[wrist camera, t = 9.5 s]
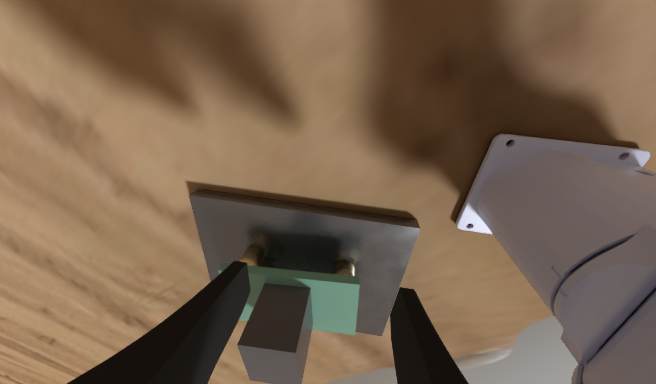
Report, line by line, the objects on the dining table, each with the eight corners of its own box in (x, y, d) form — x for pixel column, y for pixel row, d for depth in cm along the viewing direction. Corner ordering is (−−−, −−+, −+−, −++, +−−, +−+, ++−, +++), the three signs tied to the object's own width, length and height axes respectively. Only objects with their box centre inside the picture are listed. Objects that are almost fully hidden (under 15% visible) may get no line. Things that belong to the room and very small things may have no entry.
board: (359, 276, 19) (358, 353, 14) (355, 326, 23) (353, 402, 18) (222, 263, 20) (177, 328, 15) (238, 311, 24) (205, 378, 19)
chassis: (417, 219, 20) (427, 250, 17) (380, 326, 28) (383, 360, 25) (197, 188, 21) (168, 211, 18) (222, 298, 29) (205, 327, 26)
